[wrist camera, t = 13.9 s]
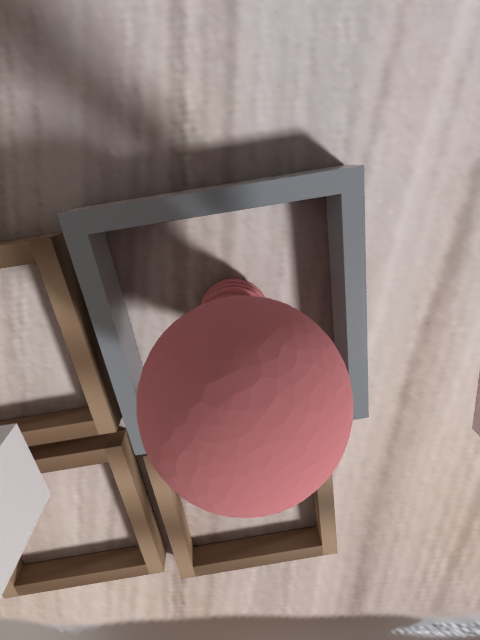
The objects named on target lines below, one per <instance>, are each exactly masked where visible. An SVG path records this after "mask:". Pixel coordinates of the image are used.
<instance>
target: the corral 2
mask: <svg viewBox="0 0 480 640" xmlns="http://www.w3.org/2000/svg"><path fill="white" fill-rule="evenodd" d="M28 448H29V450H30V452H31V454H32V456H33V458H34V460H35V462H36V464H37V466H38V469H39V471H40V473H46V472H52V471H58V470H64V469H70V468H76V467H83V466H89V465H95V464H101V463H107V462H109V464H110V467H111V470H112V473H113V475H114V478H115V481H116V484H117V486H118V489H119V492H120V495H121V497H122V500H123V503H124V506H125V508H126V511H127V514H128V517H129V519H130V522H131V525H132V528H133V530H134V533H135V536H136V539H137V541H138V544H139V546H134V547H128V548H122V549H116V550H110V551H104V552H98V553H92V554H86V555H80V556H74V557H68V558H62V559H56V560H50V561H44V562H38V563H32V564H26V565H24V564H23V563H22V561H21V559H19V561H18V563H17V565H16V567H15V569H14V572H13V574H12V576H11V578H10V580H9V582H8V584H7V586H6V588H5V590H4V592H3V594H2V595H3V597H4V598H10V597H16V596H22V595H28V594H34V593H40V592H46V591H52V590H58V589H64V588H70V587H76V586H82V585H88V584H94V583H100V582H106V581H112V580H118V579H124V578H130V577H136V576H142V575H148V574H154V573H160V572H164V567H165V558H166V549H165V546H164V543H163V540H162V536H161V533H160V530H159V527H158V524H157V521H156V518H155V515H154V512H153V509H152V506H151V503H150V500H149V496H148V493H147V490H146V487H145V484H144V481H143V478H142V475H141V472H140V469H139V466H138V463H137V460H136V457H135V453H134V450H133V447H132V444H131V441H130V438H129V435H128V432H127V429H124V430H118V431H117V432H114V433H108V434H101V435H95V436H89V437H83V438H77V439H71V440H65V441H59V442H53V443H46V444H40V445H34V446H28Z"/></svg>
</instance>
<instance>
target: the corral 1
mask: <svg viewBox="0 0 480 640" xmlns="http://www.w3.org/2000/svg"><path fill="white" fill-rule="evenodd" d="M31 263H37V266H38V269H39V272H40V274H41V277H42V280H43V283H44V285H45V288H46V291H47V294H48V296H49V299H50V302H51V305H52V307H53V310H54V313H55V316H56V318H57V321H58V324H59V327H60V329H61V332H62V335H63V338H64V340H65V343H66V346H67V349H68V351H69V354H70V357H71V360H72V362H73V365H74V368H75V371H76V373H77V376H78V379H79V382H80V384H81V387H82V390H83V393H84V395H85V398H86V401H87V404H88V406H89V407H83V408H77V409H71V410H65V411H59V412H53V413H47V414H41V415H34V416H28V417H22V418H16V419H10V420H4V421H0V426H2V425H8V424H15V423H17V425H18V427H19V429H20V431H21V433H22V435H23V437H24V439H25V442H26V444H27V446H34V445H40V444H46V443H53V442H59V441H65V440H71V439H77V438H83V437H89V436H95V435H101V434H108V433H114V432H117V429H118V426H119V423H120V421H121V418H122V414H121V410H120V407H119V404H118V401H117V398H116V395H115V392H114V389H113V386H112V383H111V380H110V377H109V374H108V370H107V367H106V364H105V361H104V358H103V355H102V352H101V349H100V346H99V343H98V340H97V337H96V334H95V331H94V327H93V324H92V321H91V318H90V315H89V312H88V309H87V306H86V303H85V300H84V297H83V294H82V291H81V288H80V284H79V281H78V278H77V275H76V272H75V269H74V266H73V263H72V260H71V257H70V254H69V251H68V248H67V245H66V241H65V238H64V235H63V232H60V233H53V234H47V235H41V236H35V237H28V238H22V239H16V240H10V241H3V242H0V268H6V267H12V266H18V265H25V264H31Z"/></svg>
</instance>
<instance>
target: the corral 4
mask: <svg viewBox="0 0 480 640" xmlns="http://www.w3.org/2000/svg"><path fill="white" fill-rule="evenodd" d="M143 459H144V462H145V466H146V469H147V472H148V475H149V478H150V481H151V485H152V488H153V491H154V494H155V497H156V500H157V504H158V507H159V510H160V513H161V516H162V519H163V523H164V526H165V529H166V532H167V535H168V538H169V542H170V545H171V548H172V551H173V554H174V557H175V560H176V564H177V567H178V570H179V573H180V576H181V579H184V578H190V577H196V576H202V575H208V574H214V573H220V572H226V571H232V570H238V569H244V568H250V567H256V566H262V565H268V564H274V563H280V562H286V561H292V560H298V559H304V558H310V557H316V556H322V555H328V554H334V553H337V539H336V525H335V510H334V496H333V481H332V474H331V475H330V476H329V478H328V479H327V480H326V481H325V482H324V483H323V484H322V485H321V486H320V488H319V489H317V490H316V491H315V492H314V502H315V512H316V523H317V526H316V527H310V528H304V529H298V530H292V531H285V532H279V533H273V534H267V535H261V536H255V537H249V538H243V539H237V540H231V541H225V542H219V543H213V544H207V545H201V546H195V547H194V546H193V542H192V539H191V535H190V532H189V528H188V525H187V521H186V518H185V514H184V510H183V507H182V503H181V500H180V496H179V495H178V494H177V493H176V492H175V491H174V490H172V489H171V488H170V487H169V485H168V484H167V483H166V482H165V481H164V480H163V479H162V478H161V476H160V475H159V474H158V472H157V471H156V470H155V468H154V467H153V465H152V464H151V462H150V460H149V458H148V456H147V454H143Z"/></svg>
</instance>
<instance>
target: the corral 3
mask: <svg viewBox="0 0 480 640" xmlns="http://www.w3.org/2000/svg"><path fill="white" fill-rule="evenodd" d="M324 196H326V209H327V227H328V244H329V262H330V280H331V298H332V315H333V333H334V345H335V346H336V348H337V350H338V351H339V353H340V355H341V357H342V359H343V361H344V363H345V365H346V368H347V371H348V374H349V377H350V383H351V388H352V394H353V420H354V419H361V418H367V417H369V413H368V359H367V305H366V251H365V197H364V165H340V166H334V167H328V168H322V169H315V170H309V171H303V172H297V173H290V174H284V175H278V176H272V177H265V178H259V179H253V180H247V181H240V182H234V183H228V184H222V185H215V186H209V187H203V188H197V189H190V190H184V191H178V192H172V193H165V194H159V195H153V196H147V197H140V198H134V199H128V200H122V201H115V202H109V203H103V204H97V205H90V206H84V207H78V208H74V209H71V210H68V211H65V212H62V213H59V214H57V217H58V220H59V223H60V226H61V229H62V232H63V235H64V238H65V241H66V244H67V248H68V251H69V254H70V257H71V260H72V263H73V266H74V269H75V272H76V275H77V278H78V281H79V284H80V288H81V291H82V294H83V297H84V300H85V303H86V306H87V309H88V312H89V315H90V318H91V321H92V324H93V327H94V331H95V334H96V337H97V340H98V343H99V346H100V349H101V352H102V355H103V358H104V361H105V364H106V367H107V370H108V374H109V377H110V380H111V383H112V386H113V389H114V392H115V395H116V398H117V401H118V404H119V407H120V410H121V414H122V417H123V420H124V423H125V426H126V429H127V432H128V435H129V438H130V441H131V444H132V447H133V450H134V453H135V455H141V454H147V453H146V451H145V449H144V446H143V443H142V440H141V437H140V432H139V428H138V422H137V403H136V397H137V390H138V384H139V380H140V377H141V373H142V369H143V365H142V362H141V358H140V355H139V351H138V348H137V344H136V340H135V337H134V333H133V330H132V326H131V323H130V319H129V316H128V312H127V309H126V305H125V301H124V298H123V294H122V291H121V287H120V284H119V280H118V277H117V273H116V270H115V266H114V263H113V259H112V255H111V252H110V248H109V245H108V241H107V238H106V234H105V232H106V231H112V230H118V229H125V228H131V227H137V226H143V225H150V224H156V223H162V222H168V221H174V220H181V219H187V218H193V217H199V216H206V215H212V214H218V213H224V212H231V211H237V210H243V209H249V208H255V207H262V206H268V205H274V204H280V203H287V202H293V201H299V200H305V199H312V198H318V197H324Z"/></svg>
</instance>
